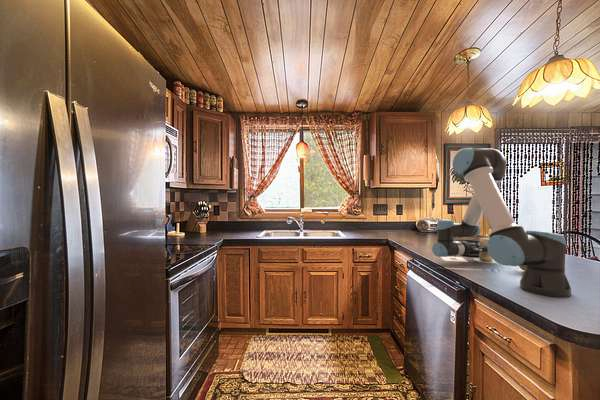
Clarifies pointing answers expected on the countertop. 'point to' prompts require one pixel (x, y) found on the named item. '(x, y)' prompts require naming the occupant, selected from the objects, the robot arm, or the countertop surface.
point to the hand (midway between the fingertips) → (492, 245)
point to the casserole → (474, 251)
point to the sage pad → (485, 261)
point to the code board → (454, 259)
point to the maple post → (484, 255)
